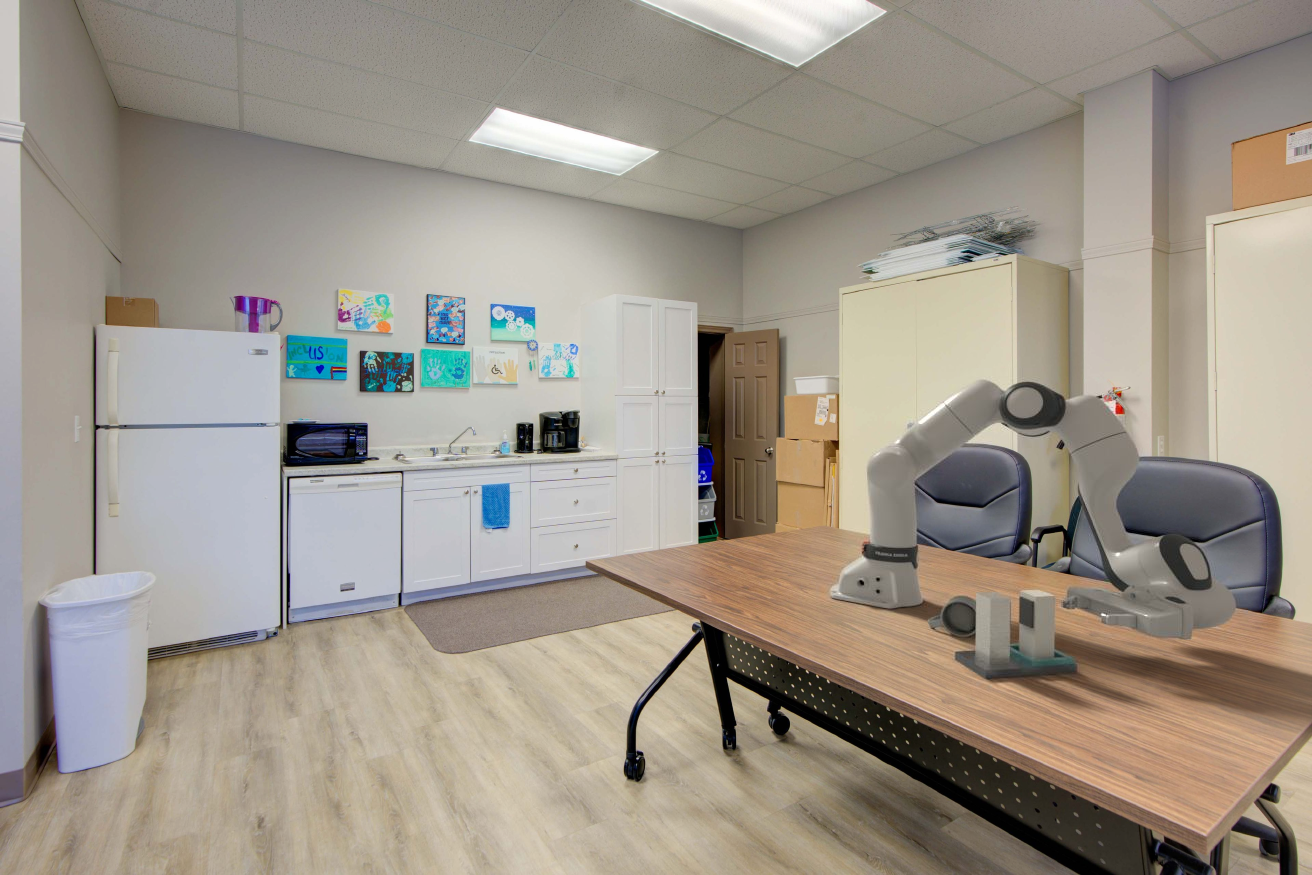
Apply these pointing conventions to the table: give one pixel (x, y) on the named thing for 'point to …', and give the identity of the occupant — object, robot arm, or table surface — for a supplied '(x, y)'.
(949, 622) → the ceramic mug
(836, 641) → the table surface
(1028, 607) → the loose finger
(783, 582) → the table surface
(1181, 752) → the table surface
